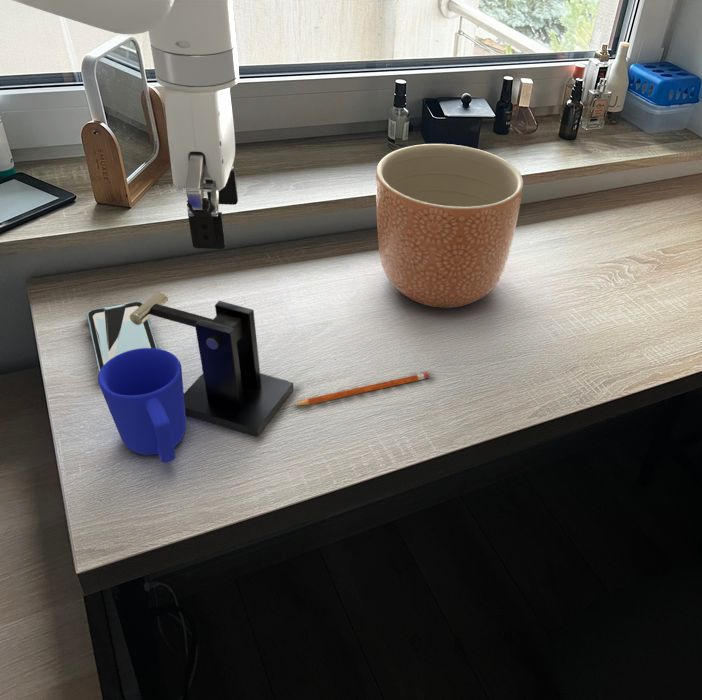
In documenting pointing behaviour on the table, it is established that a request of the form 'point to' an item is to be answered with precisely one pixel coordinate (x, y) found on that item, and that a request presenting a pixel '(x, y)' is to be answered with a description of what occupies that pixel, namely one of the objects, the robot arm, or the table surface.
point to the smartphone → (118, 331)
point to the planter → (445, 221)
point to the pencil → (363, 389)
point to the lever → (180, 315)
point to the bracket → (233, 377)
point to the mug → (146, 400)
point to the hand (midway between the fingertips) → (216, 224)
